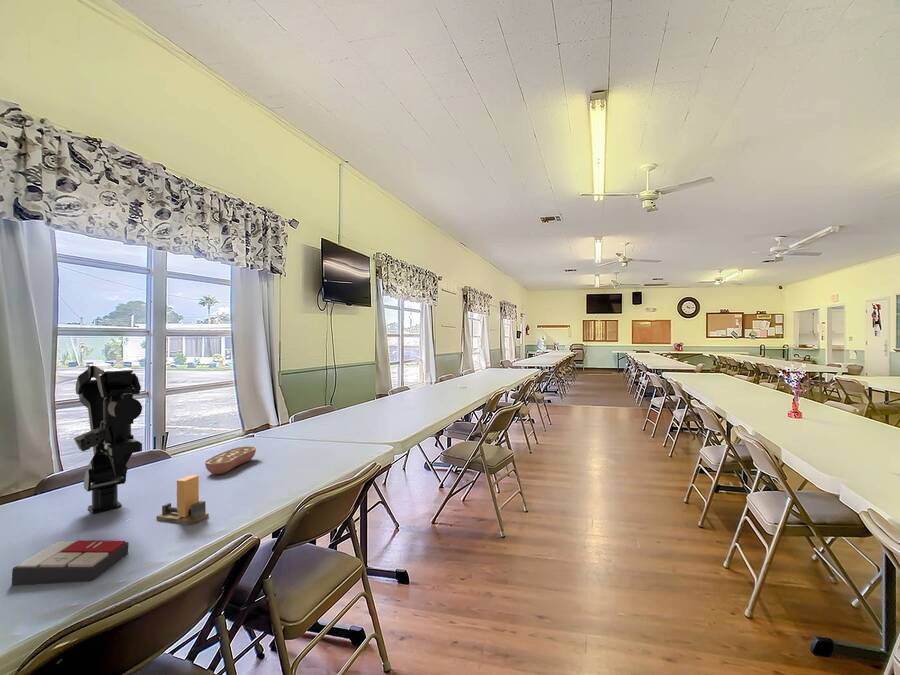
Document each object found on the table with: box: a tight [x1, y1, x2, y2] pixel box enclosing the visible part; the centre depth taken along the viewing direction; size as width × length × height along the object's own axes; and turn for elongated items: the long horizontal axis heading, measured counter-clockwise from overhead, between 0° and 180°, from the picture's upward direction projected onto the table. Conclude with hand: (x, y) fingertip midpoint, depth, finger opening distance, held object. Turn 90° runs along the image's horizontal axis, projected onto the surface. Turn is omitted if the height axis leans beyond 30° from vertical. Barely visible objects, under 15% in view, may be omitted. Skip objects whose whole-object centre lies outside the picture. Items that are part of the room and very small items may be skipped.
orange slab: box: [176, 474, 200, 517], centre depth 112 cm, size 2×4×10 cm, turn 164°
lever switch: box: [156, 500, 210, 526], centre depth 113 cm, size 12×5×5 cm, turn 74°
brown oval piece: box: [204, 446, 257, 476], centre depth 157 cm, size 23×10×5 cm, turn 174°
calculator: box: [11, 539, 129, 587], centre depth 89 cm, size 11×4×15 cm
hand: (118, 475), depth 111 cm, fingers closed
